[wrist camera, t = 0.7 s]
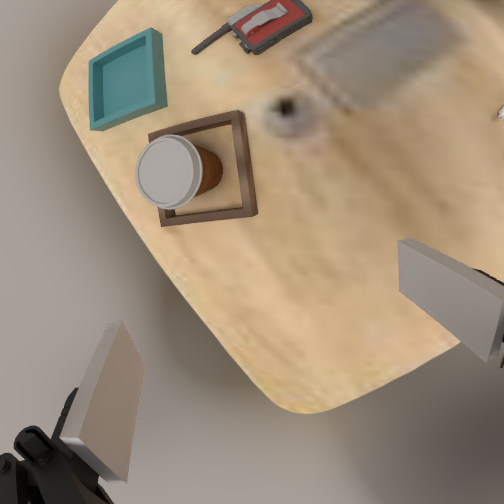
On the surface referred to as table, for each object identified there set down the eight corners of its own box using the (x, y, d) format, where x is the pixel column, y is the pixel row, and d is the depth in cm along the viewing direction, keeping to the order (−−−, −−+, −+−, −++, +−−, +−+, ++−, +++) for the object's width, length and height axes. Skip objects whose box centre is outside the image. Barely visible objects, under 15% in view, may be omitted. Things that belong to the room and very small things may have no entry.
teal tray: (100, 64, 45) (88, 60, 42) (162, 34, 40) (151, 27, 37) (103, 131, 48) (90, 130, 45) (167, 106, 44) (155, 103, 40)
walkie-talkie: (288, -12, 33) (192, 52, 41) (283, -25, 29) (180, 43, 36) (321, 19, 34) (218, 85, 41) (319, 6, 30) (207, 78, 37)
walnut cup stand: (158, 135, 46) (148, 133, 43) (244, 113, 41) (237, 110, 38) (170, 223, 49) (161, 226, 46) (258, 213, 44) (252, 216, 42)
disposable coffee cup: (221, 209, 46) (184, 222, 35) (171, 189, 47) (125, 196, 36) (241, 151, 43) (207, 145, 32) (188, 134, 44) (144, 126, 33)
